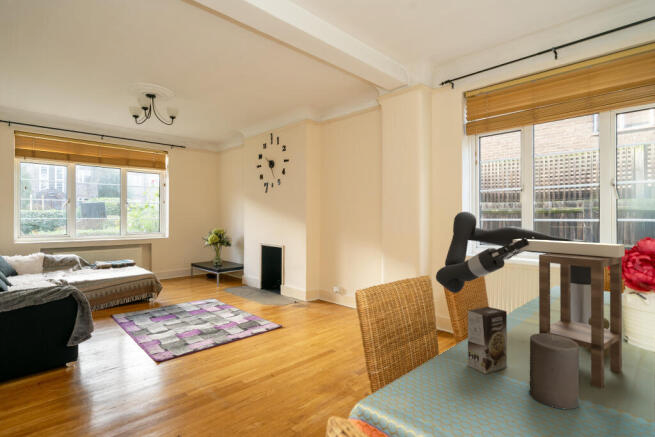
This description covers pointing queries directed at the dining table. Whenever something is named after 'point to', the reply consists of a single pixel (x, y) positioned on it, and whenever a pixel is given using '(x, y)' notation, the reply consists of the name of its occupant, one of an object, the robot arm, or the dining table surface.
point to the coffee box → (487, 339)
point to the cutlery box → (575, 248)
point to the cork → (606, 326)
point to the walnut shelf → (594, 333)
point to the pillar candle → (554, 370)
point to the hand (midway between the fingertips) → (531, 240)
